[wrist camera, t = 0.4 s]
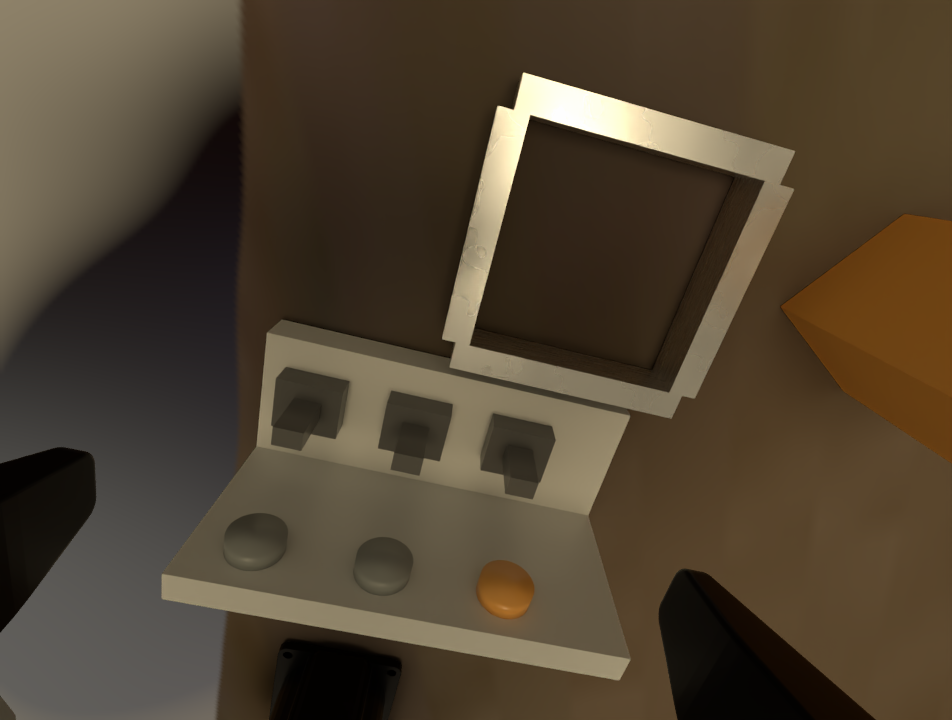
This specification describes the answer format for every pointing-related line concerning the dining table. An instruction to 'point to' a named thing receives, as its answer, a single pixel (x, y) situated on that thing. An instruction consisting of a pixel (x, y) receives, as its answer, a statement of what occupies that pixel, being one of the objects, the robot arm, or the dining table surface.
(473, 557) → the breaker bank
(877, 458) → the dining table surface
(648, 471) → the dining table surface
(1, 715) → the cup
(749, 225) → the frame
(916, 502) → the dining table surface
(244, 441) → the dining table surface
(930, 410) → the cap
